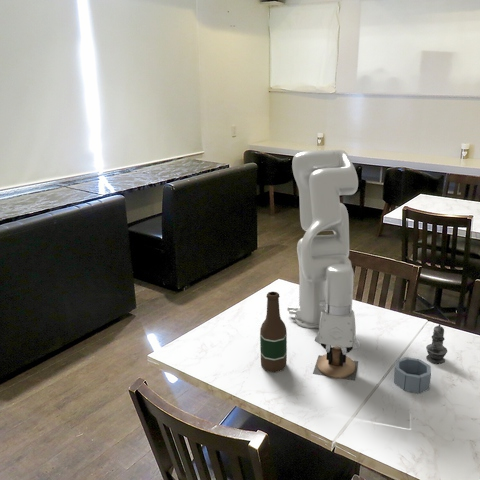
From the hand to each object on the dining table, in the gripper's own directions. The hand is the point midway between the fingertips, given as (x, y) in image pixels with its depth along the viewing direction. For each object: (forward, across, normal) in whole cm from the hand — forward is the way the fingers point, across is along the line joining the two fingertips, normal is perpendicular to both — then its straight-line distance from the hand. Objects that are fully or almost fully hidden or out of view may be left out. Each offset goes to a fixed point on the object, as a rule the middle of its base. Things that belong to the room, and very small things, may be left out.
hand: (336, 362), depth 135 cm
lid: (+2, 0, 0) cm, 2 cm away
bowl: (+2, +21, -1) cm, 21 cm away
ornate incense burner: (+2, +28, +13) cm, 31 cm away
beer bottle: (+2, -18, -4) cm, 19 cm away
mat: (+2, 0, 0) cm, 2 cm away
